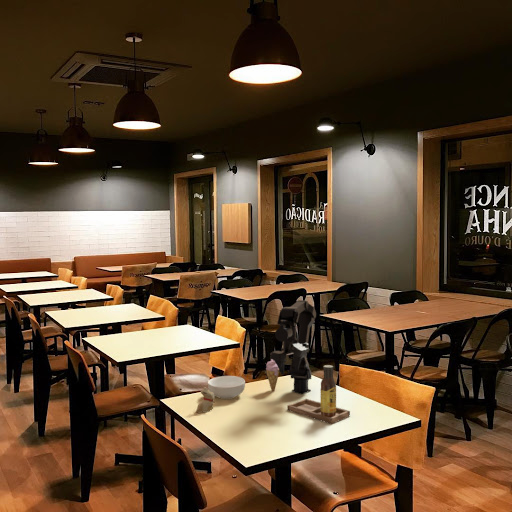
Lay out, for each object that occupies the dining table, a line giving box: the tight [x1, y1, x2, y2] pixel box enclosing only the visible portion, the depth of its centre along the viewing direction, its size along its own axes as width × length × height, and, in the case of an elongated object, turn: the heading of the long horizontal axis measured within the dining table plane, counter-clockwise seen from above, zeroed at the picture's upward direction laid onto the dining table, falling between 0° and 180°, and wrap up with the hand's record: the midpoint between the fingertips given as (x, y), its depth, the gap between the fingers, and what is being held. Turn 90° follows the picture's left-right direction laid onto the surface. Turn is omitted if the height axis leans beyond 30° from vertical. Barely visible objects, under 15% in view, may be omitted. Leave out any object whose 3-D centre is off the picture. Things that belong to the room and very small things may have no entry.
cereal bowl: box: [207, 375, 246, 400], centre depth 255 cm, size 17×17×7 cm
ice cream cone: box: [265, 358, 280, 392], centre depth 261 cm, size 7×6×15 cm
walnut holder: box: [286, 398, 351, 425], centre depth 231 cm, size 12×23×2 cm, turn 44°
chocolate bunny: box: [196, 386, 215, 413], centre depth 237 cm, size 6×8×10 cm
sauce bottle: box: [320, 364, 337, 417], centre depth 227 cm, size 7×6×20 cm
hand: (289, 372), depth 245 cm, fingers open, 9 cm apart
